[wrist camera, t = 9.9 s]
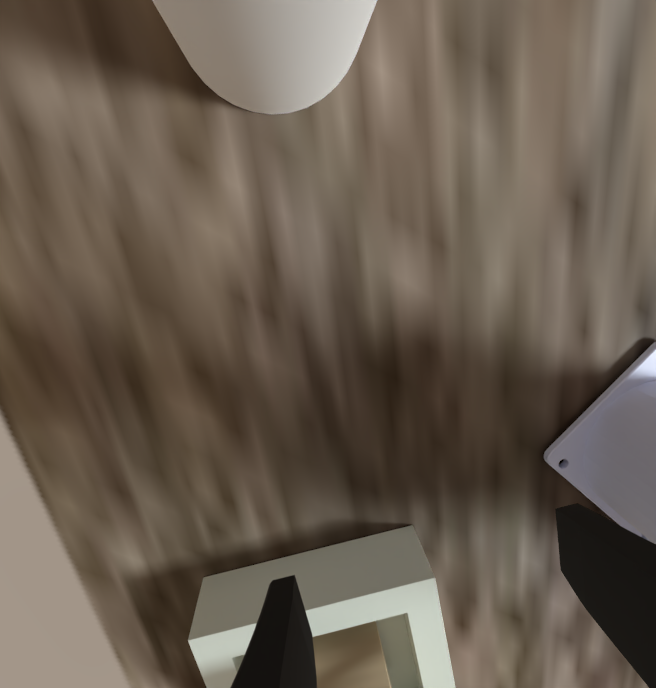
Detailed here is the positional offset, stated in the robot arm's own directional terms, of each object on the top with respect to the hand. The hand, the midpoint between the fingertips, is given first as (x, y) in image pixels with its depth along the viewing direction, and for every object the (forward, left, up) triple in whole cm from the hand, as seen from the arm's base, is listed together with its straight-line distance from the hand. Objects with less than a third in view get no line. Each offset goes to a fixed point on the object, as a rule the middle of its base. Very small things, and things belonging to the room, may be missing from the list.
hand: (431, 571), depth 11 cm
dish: (-7, +11, -9) cm, 16 cm away
